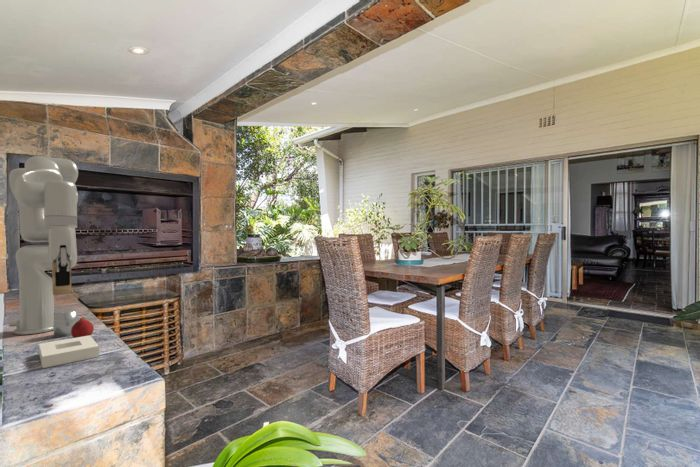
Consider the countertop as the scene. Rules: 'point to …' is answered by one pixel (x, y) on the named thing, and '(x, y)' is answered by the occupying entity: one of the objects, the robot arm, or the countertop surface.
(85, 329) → the onion
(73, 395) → the countertop surface
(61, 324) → the round peg
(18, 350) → the countertop surface
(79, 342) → the socket block
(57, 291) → the square peg
